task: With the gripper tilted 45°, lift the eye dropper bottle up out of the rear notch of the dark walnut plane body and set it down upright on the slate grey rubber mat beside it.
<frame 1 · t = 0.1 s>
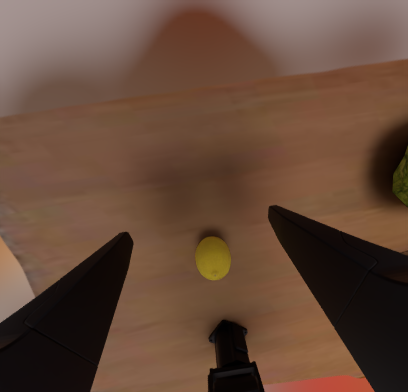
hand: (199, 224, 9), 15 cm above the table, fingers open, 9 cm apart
lemon: (210, 241, 27), on the table
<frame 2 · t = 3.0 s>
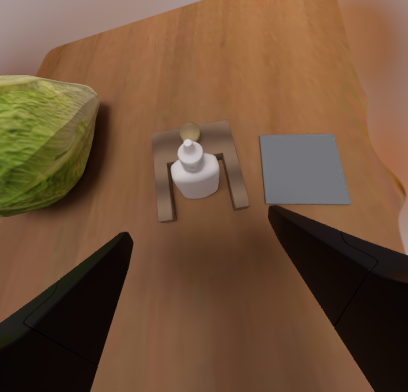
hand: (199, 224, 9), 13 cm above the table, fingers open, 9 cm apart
eye dropper bottle: (200, 188, 24), on the table
slate mat: (300, 167, 24), on the table
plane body: (200, 188, 24), on the table
lettuce: (74, 158, 27), on the table
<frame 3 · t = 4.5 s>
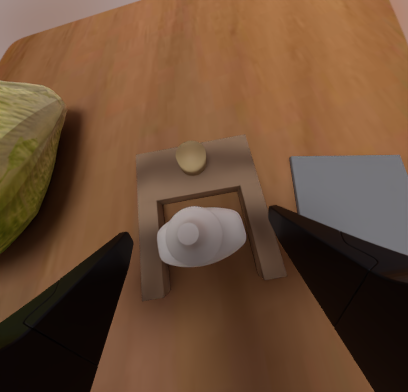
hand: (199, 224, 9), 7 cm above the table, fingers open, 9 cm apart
eye dropper bottle: (206, 236, 16), on the table
slate mat: (354, 206, 16), on the table
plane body: (206, 236, 16), on the table
lettuce: (30, 187, 20), on the table
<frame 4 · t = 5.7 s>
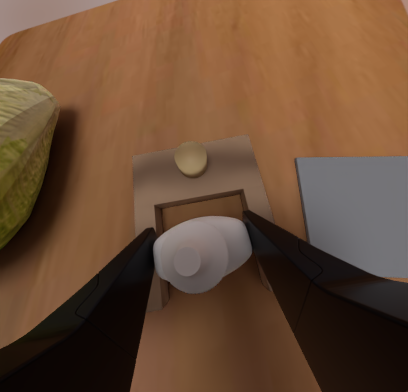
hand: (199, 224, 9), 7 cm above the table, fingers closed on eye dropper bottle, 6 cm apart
eye dropper bottle: (207, 242, 15), on the table, touching gripper
slate mat: (363, 211, 15), on the table
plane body: (207, 243, 15), on the table
lettuce: (21, 190, 19), on the table
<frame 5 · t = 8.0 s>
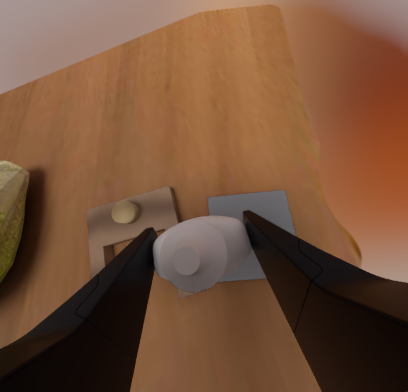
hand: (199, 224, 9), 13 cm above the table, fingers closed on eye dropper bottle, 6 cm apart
eye dropper bottle: (206, 242, 15), point 7 cm above the table, touching gripper
slate mat: (251, 233, 22), on the table
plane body: (145, 267, 21), on the table
lettuce: (5, 240, 24), on the table
when the fingers open (8 cm above the table, at t = 10.5 s): eye dropper bottle drops 1 cm, resting on slate mat.
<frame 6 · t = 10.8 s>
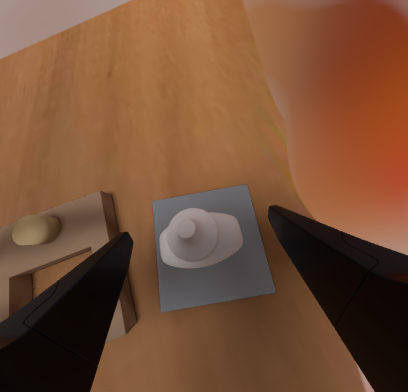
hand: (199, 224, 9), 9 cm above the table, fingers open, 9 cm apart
eye dropper bottle: (207, 244, 17), resting on slate mat
slate mat: (207, 242, 17), on the table
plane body: (72, 299, 16), on the table
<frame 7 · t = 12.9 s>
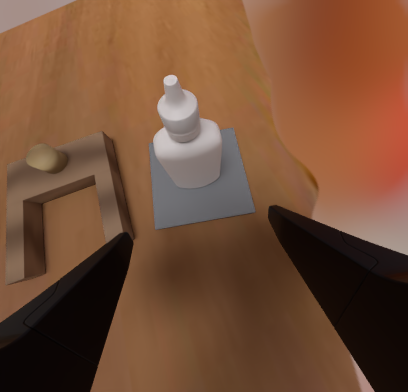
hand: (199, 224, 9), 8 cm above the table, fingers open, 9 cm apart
eye dropper bottle: (197, 176, 19), resting on slate mat
slate mat: (197, 175, 19), on the table
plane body: (77, 223, 19), on the table
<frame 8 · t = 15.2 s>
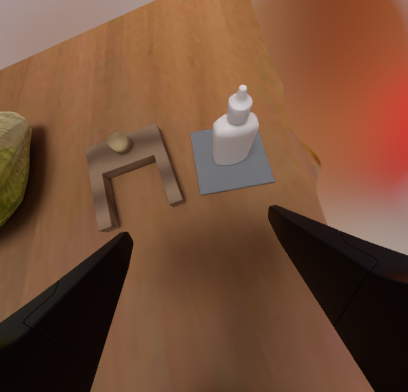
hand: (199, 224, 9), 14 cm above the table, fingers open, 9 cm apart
eye dropper bottle: (229, 157, 25), resting on slate mat
slate mat: (229, 156, 26), on the table
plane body: (140, 192, 25), on the table
lettuce: (13, 185, 27), on the table
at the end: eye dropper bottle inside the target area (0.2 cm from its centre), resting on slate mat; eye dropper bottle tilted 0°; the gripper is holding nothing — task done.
